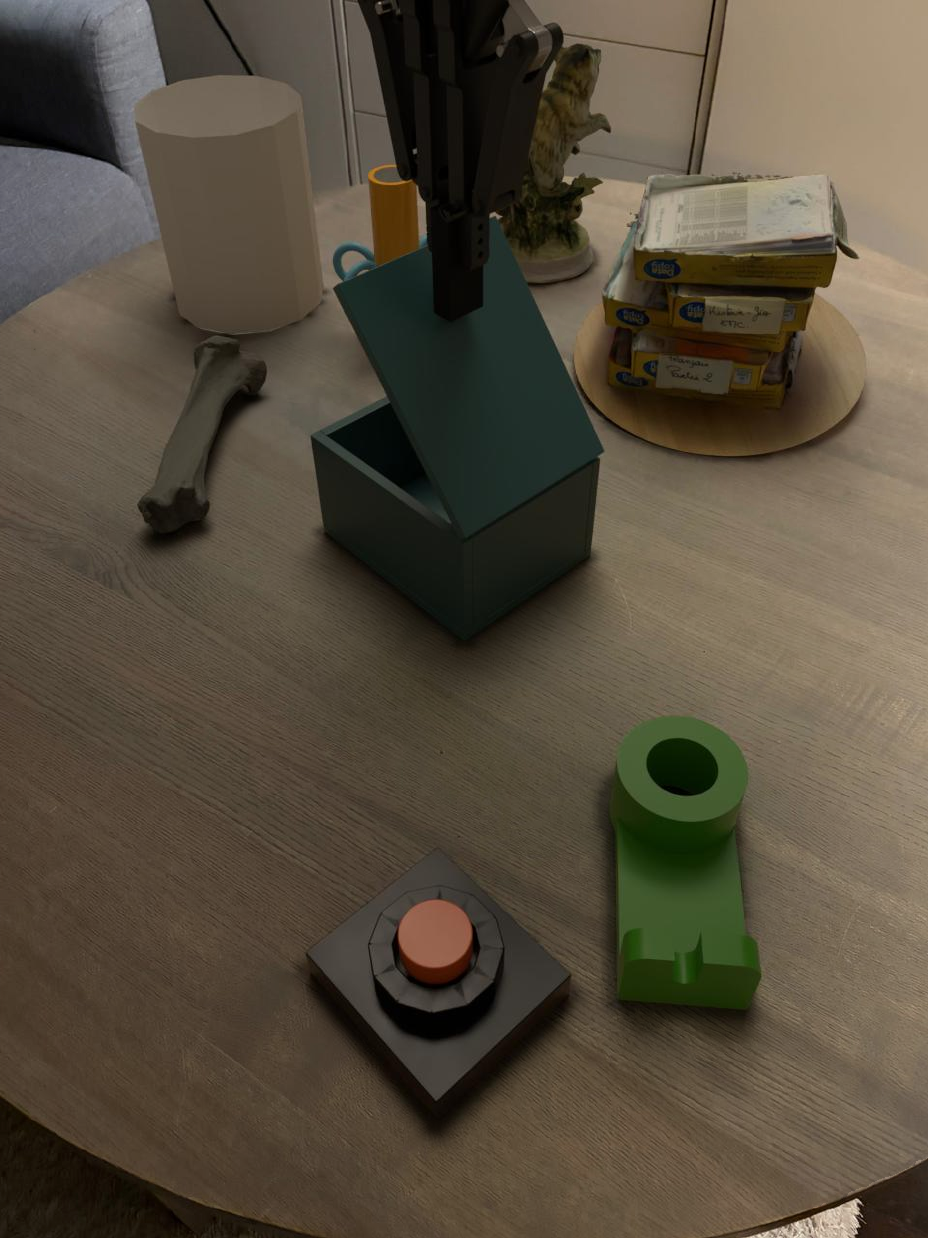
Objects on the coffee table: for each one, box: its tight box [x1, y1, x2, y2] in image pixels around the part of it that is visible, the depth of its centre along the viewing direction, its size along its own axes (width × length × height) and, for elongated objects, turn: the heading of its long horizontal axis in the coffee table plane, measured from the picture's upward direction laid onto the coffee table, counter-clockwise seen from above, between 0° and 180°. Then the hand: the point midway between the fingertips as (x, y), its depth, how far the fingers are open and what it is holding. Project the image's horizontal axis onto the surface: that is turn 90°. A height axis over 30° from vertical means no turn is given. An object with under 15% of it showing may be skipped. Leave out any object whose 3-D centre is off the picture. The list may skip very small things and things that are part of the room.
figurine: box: [494, 43, 612, 284], centre depth 101 cm, size 12×14×20 cm
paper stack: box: [573, 170, 867, 457], centre depth 87 cm, size 25×25×17 cm
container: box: [132, 74, 324, 335], centre depth 97 cm, size 14×14×18 cm
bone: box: [136, 335, 268, 534], centre depth 83 cm, size 22×6×6 cm, turn 176°
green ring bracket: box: [609, 715, 762, 1011], centre depth 56 cm, size 15×7×5 cm, turn 175°
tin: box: [310, 395, 601, 641], centre depth 74 cm, size 16×13×9 cm
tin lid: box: [332, 215, 605, 539], centre depth 65 cm, size 16×13×1 cm
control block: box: [305, 846, 572, 1120], centre depth 52 cm, size 10×9×4 cm
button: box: [398, 899, 473, 985], centre depth 51 cm, size 4×4×2 cm
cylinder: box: [332, 164, 428, 282], centre depth 92 cm, size 12×10×15 cm
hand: (458, 309), depth 63 cm, fingers closed
